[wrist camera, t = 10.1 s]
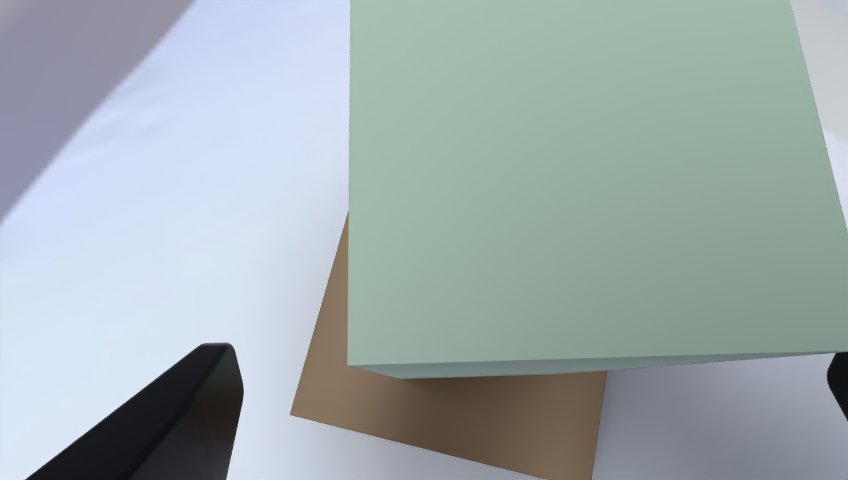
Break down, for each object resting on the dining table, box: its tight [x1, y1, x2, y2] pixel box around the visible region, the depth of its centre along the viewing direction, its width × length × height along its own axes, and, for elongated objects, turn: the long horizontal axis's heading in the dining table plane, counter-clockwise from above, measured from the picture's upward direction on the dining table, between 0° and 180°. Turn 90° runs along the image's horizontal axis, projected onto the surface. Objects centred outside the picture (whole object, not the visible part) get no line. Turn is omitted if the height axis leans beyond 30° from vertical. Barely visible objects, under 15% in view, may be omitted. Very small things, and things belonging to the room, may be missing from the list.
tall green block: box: [347, 0, 848, 379], centre depth 11 cm, size 4×4×12 cm
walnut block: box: [290, 211, 607, 480], centre depth 19 cm, size 9×9×4 cm
